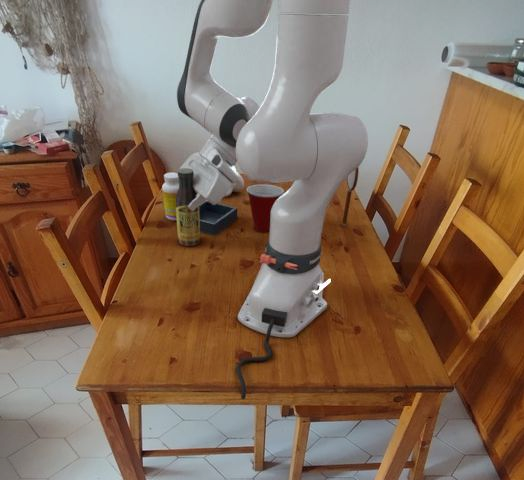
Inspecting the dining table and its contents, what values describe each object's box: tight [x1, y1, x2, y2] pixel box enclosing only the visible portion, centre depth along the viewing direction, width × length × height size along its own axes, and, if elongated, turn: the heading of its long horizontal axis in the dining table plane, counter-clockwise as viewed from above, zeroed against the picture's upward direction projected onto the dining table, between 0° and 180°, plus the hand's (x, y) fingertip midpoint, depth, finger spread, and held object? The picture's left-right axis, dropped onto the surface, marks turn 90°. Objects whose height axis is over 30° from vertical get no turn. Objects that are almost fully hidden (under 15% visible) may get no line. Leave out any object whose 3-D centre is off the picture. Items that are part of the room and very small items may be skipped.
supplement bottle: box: [161, 171, 179, 222], centre depth 126 cm, size 7×7×13 cm
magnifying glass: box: [342, 167, 360, 227], centre depth 123 cm, size 9×2×20 cm, turn 4°
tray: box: [199, 199, 238, 236], centre depth 127 cm, size 14×12×3 cm
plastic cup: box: [246, 184, 285, 233], centre depth 122 cm, size 11×11×12 cm
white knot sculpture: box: [223, 165, 245, 198], centre depth 143 cm, size 11×12×9 cm
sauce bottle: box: [176, 168, 201, 247], centre depth 112 cm, size 7×6×20 cm
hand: (184, 203), depth 110 cm, fingers closed on sauce bottle, 6 cm apart
